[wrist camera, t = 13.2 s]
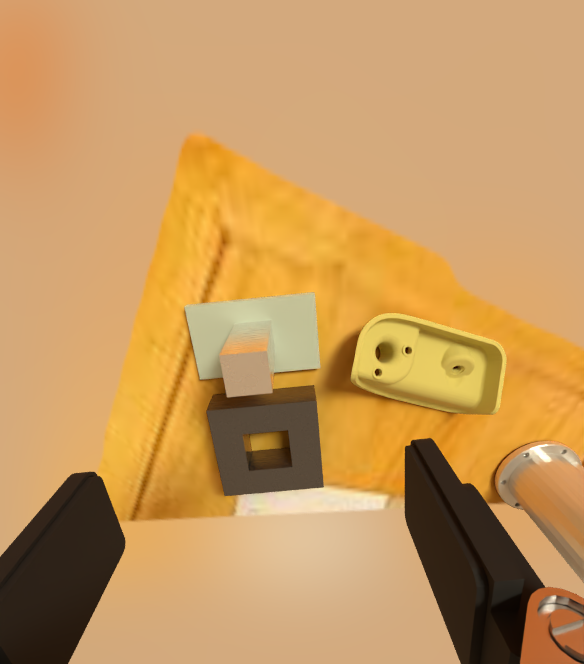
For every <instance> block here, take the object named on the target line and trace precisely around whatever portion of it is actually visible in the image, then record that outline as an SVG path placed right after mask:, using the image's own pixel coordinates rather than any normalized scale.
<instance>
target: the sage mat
mask: <svg viewBox="0 0 584 664" xmlns="http://www.w3.org/2000/svg"><path fill="white" fill-rule="evenodd" d="M185 312H186V317H187V321H188V326H189V330H190V335H191V340H192V344H193V349H194V354H195V358H196V363H197V368H198V372H199V377H200V380H202V379H212V378H223V374H222V368H221V363H220V358H219V355H220V353H221V351H222V349H223V346H224V344H225V342H226V340H227V338H228V336H229V334H230V332H231V330H232V328H233V326H234V324H235V323H245V322H255V321H265V320H272V328H273V336H274V344H275V352H276V357H275V369H274V373H275V372H285V371H296V370H306V369H317V368H320V357H319V344H318V331H317V318H316V305H315V293H314V292H311V293H301V294H291V295H281V296H271V297H261V298H251V299H241V300H231V301H221V302H211V303H201V304H191V305H186V306H185Z"/></svg>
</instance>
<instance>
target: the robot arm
mask: <svg viewBox="0 0 584 664" xmlns="http://www.w3.org/2000/svg"><path fill="white" fill-rule="evenodd" d="M495 487H496V490H497V492H498V494H499V495H500V497H501V498H502V499H503V500H504V502H506V503H507V504H508V505H510V506H512V507H514V508H517V509H522V510H525V511H526V513H527V514H528V515H529V516H530V518H531V519H532V520H533V521H534V522H535V524H536V525H537V526H538V527H539V529H540V530H541V531H542V532H543V533H544V535H545V536H546V537H547V538H548V540H549V541H550V542H551V543H552V544H553V546H554V547H555V548H556V549H557V551H558V552H559V553H560V554H561V556H562V557H563V558H564V559H565V561H566V562H567V563H568V564H569V565H570V567H571V568H572V569H573V570H574V572H575V573H576V574H577V575H578V576H579V578H580V579H581V580H582V581H583V583H584V467H582V463H581V460H580V458H579V456H578V455H577V454H576V453H575V452H574V451H573V450H572V449H570V448H569V447H568V446H566V445H564V444H562V443H559V442H555V441H539V442H534V443H530V444H527V445H525V446H522V447H520V448H519V449H517V450H515V451H514V452H512V453H511V454H510V455H508V456H507V457H506V459H505V460H504V461H503V462H502V463H501V465H500V466H499V468H498V470H497V473H496V476H495ZM405 518H406V522H407V526H408V529H409V531H410V534H411V536H412V539H413V542H414V544H415V547H416V549H417V552H418V554H419V557H420V560H421V562H422V565H423V567H424V570H425V572H426V575H427V578H428V580H429V583H430V585H431V588H432V591H433V593H434V596H435V598H436V601H437V603H438V606H439V609H440V611H441V614H442V616H443V619H444V621H445V624H446V626H447V629H448V632H449V634H450V637H451V639H452V642H453V645H454V647H455V650H456V652H457V655H458V657H459V660H460V662H461V664H584V598H582V597H580V596H578V595H577V594H574V593H572V592H569V591H566V590H564V589H560V588H553V587H545V586H544V585H543V583H542V582H541V580H540V579H539V578H538V576H537V575H536V573H535V572H534V570H533V569H532V568H531V566H530V565H529V563H528V562H527V560H526V559H525V557H524V556H523V555H522V553H521V552H520V550H519V549H518V547H517V546H516V545H515V543H514V542H513V540H512V539H511V537H510V536H509V535H508V533H507V532H506V530H505V529H504V527H503V526H502V525H501V523H500V522H499V520H498V519H497V517H496V516H495V515H494V513H493V512H492V510H491V509H490V507H489V506H488V505H487V503H486V502H485V500H484V499H483V497H482V496H481V495H480V493H479V492H478V490H477V489H476V488H475V487H474V486H473V485H472V484H470V483H466V484H462V483H461V482H460V480H459V479H458V477H457V476H456V474H455V473H454V471H453V470H452V468H451V466H450V465H449V463H448V462H447V460H446V459H445V457H444V456H443V454H442V453H441V451H440V450H439V448H438V447H437V445H436V444H435V442H434V441H433V440H432V439H431V438H428V439H418V440H412V441H411V445H409V446H406V447H405ZM124 549H125V537H124V535H123V532H122V530H121V527H120V524H119V522H118V519H117V516H116V514H115V511H114V509H113V506H112V503H111V501H110V498H109V495H108V493H107V490H106V488H105V485H104V482H103V480H102V478H101V477H100V476H97V474H96V473H95V472H84V473H74V474H72V475H70V477H68V478H67V480H66V481H65V482H64V483H63V484H62V486H61V487H60V488H59V489H58V490H57V491H56V493H55V494H54V495H53V496H52V497H51V498H50V499H49V501H48V502H47V503H46V504H45V505H44V506H43V508H42V509H41V510H40V511H39V512H38V513H37V515H36V516H35V517H34V518H33V519H32V520H31V522H30V523H29V524H28V525H27V526H26V527H25V529H24V530H23V531H22V532H21V533H20V535H19V536H18V537H17V538H16V539H15V540H14V541H13V543H12V544H11V545H10V546H9V547H8V549H7V550H6V551H5V552H4V553H3V554H2V555H1V557H0V664H68V662H69V661H70V659H71V656H72V655H73V653H74V651H75V649H76V647H77V645H78V643H79V640H80V639H81V637H82V635H83V633H84V631H85V628H86V627H87V625H88V623H89V621H90V618H91V617H92V614H93V612H94V611H95V608H96V607H97V605H98V602H99V601H100V599H101V596H102V594H103V592H104V590H105V588H106V586H107V584H108V582H109V580H110V578H111V576H112V574H113V572H114V570H115V568H116V566H117V564H118V562H119V560H120V558H121V556H122V554H123V552H124Z"/></svg>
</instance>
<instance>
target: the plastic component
mask: <svg viewBox="0 0 584 664" xmlns="http://www.w3.org/2000/svg"><path fill="white" fill-rule="evenodd" d="M377 346H378V348H379V349H380V358H379V359H377V358H376V355H375V351H376V347H377ZM406 347H407V348H408V352H407V354H406V353H405V348H406ZM456 366H459V367H458V368H456V369H453V368H454V367H456ZM376 369H378V370H379V375H378V376H376V375H375V370H376ZM505 369H506V354H505V351H504V349H503V347H502V346H501V345H500V344H499V343H498V342H496V341H494V340H491V339H488V338H485V337H481V336H478V335H474V334H471V333H468V332H464V331H461V330H458V329H454V328H451V327H447V326H444V325H441V324H437V323H434V322H431V321H427V320H424V319H420V318H417V317H413V316H409V315H404V314H398V313H386V314H382V315H379V316H376V317H374V318H373V319H371V320H370V321H369V322H368V323H367V324H366V325H365V326H364V327H363V328H362V330H361V332H360V334H359V337H358V341H357V346H356V352H355V358H354V363H353V368H352V373H351V379H350V380H351V382H352V383H353V384H354V385H356V386H357V387H359V388H361V389H364V390H366V391H368V392H371V393H374V394H377V395H380V396H384V397H387V398H391V399H395V400H399V401H403V402H407V403H411V404H415V405H419V406H424V407H428V408H432V409H436V410H440V411H445V412H451V413H459V414H481V415H493V414H495V413H496V412H497V411H498V410H499V408H500V402H501V395H502V388H503V382H504V375H505Z"/></svg>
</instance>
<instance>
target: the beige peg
mask: <svg viewBox="0 0 584 664" xmlns="http://www.w3.org/2000/svg"><path fill="white" fill-rule="evenodd" d="M275 357H276V352H275V344H274V336H273V328H272V320H265V321H255V322H245V323H235V324H234V326H233V328H232V330H231V332H230V334H229V336H228V338H227V340H226V342H225V344H224V346H223V349H222V351H221V353H220V355H219V358H220V363H221V368H222V374H223V379H224V384H225V389H226V395H227V397H236V396H247V395H257V394H267V393H273V382H274V369H275Z"/></svg>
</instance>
